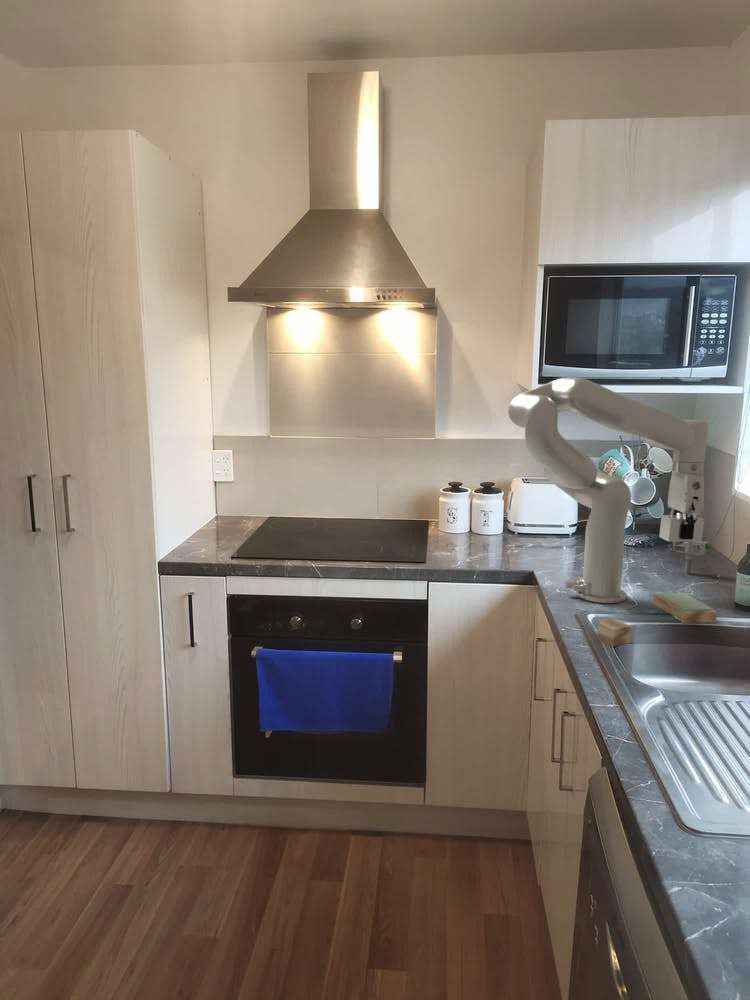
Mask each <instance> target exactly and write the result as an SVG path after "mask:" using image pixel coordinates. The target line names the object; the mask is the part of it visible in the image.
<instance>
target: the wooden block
mask: <svg viewBox="0 0 750 1000" xmlns="http://www.w3.org/2000/svg"><path fill="white" fill-rule="evenodd" d="M653 605H655V606H657V607H658V608H659V609H661V610H662V611H664V612H665V611H666V612H665V613H667V612H668V613H670V614H672V615H674V616H676V617H677V618H678V619H680V621H681V622H680V621H679V622H680V623H682V624H702V623H703V624H704V623H705V624H706V623H707V622H713V623H716V622H717V612H718V611H716V610H714V609H713V608H712V607H710V606H709V605H706V604H705V603H703V602H702V601H699V600H698V599H696V598H695V597H693V596H692V595H690V594H688V593H686V592H676V593H675V592H672V593H671V592H670V593H669V592H668V593H666V592H665V593H654V600H653ZM668 613H667V614H668ZM670 614H669V615H670ZM707 624H708V623H707Z"/></svg>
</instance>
